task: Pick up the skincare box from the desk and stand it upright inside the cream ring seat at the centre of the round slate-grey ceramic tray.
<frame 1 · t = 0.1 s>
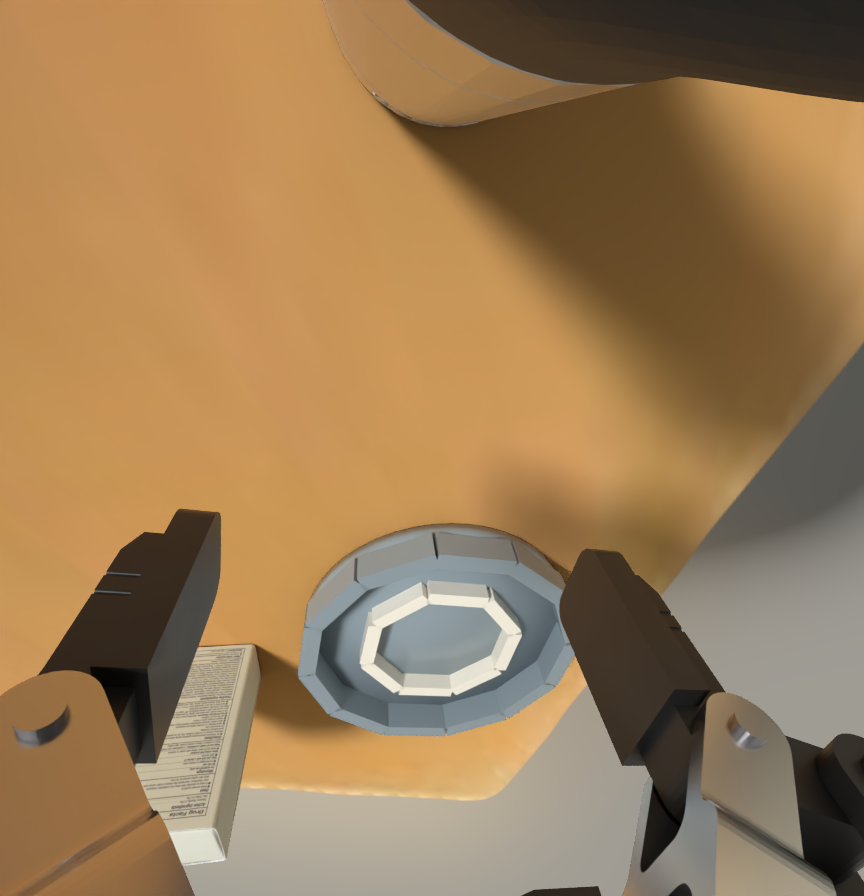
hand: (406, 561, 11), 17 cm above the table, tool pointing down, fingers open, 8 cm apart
ring tray: (437, 622, 38), on the table
skincare box: (220, 659, 38), on the table
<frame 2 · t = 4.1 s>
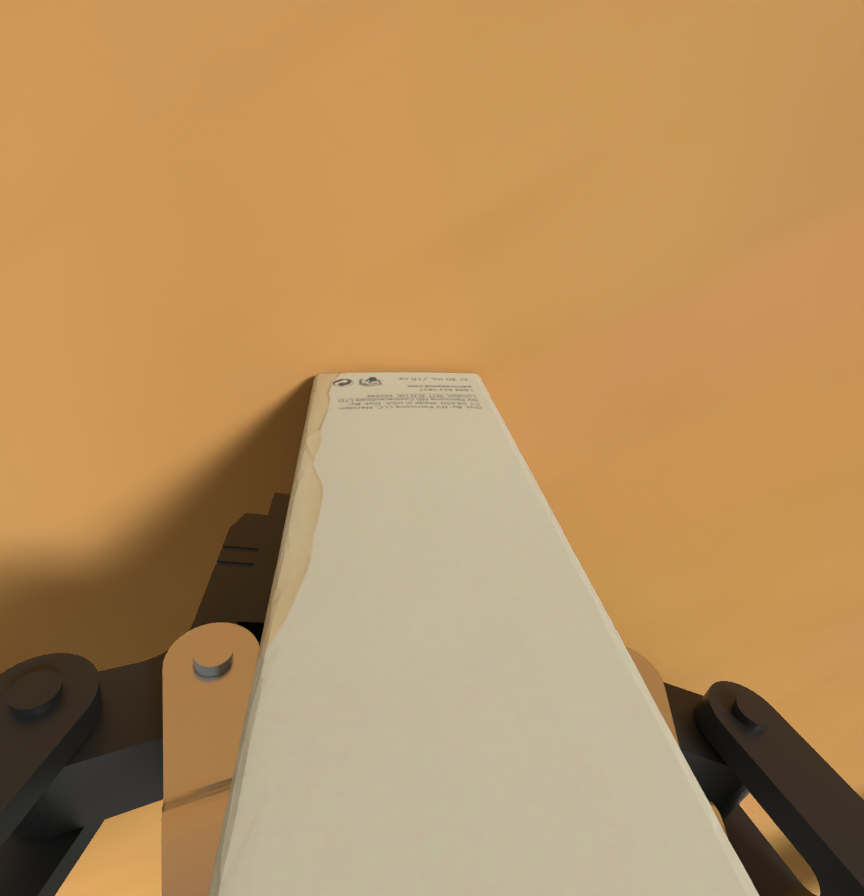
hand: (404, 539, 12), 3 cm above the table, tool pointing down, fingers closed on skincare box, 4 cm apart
skincare box: (399, 469, 14), on the table, touching gripper
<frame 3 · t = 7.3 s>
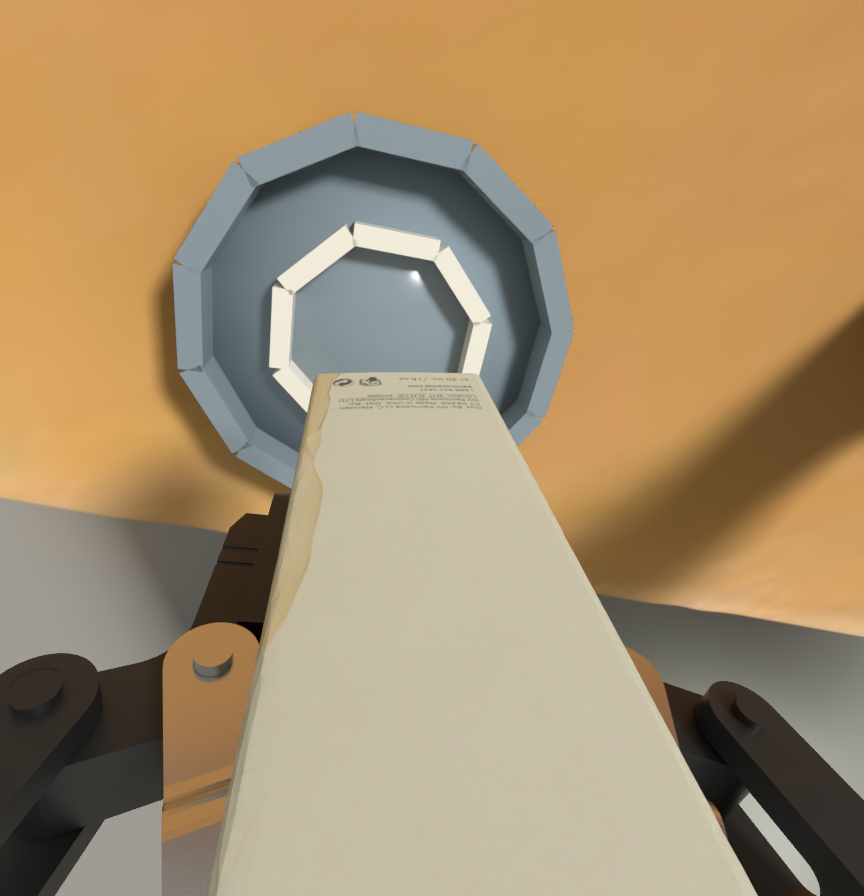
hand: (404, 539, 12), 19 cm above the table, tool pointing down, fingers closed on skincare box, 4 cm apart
ring tray: (380, 332, 28), on the table
skincare box: (399, 469, 14), point 16 cm above the table, touching gripper
when the fingers open (5 cm above the table, at t = 10.8 s): skincare box drops 1 cm, resting on ring tray.
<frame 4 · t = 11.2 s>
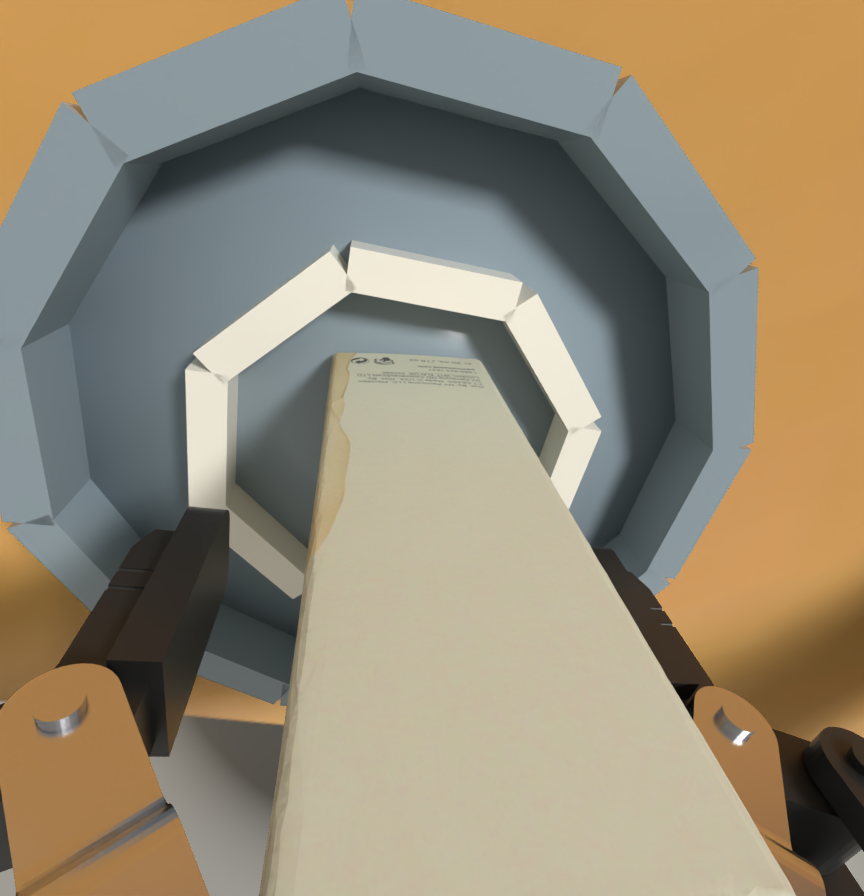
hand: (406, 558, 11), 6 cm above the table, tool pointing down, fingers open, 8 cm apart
ring tray: (393, 430, 16), on the table
skincare box: (403, 445, 15), point 1 cm above the table, touching ring tray
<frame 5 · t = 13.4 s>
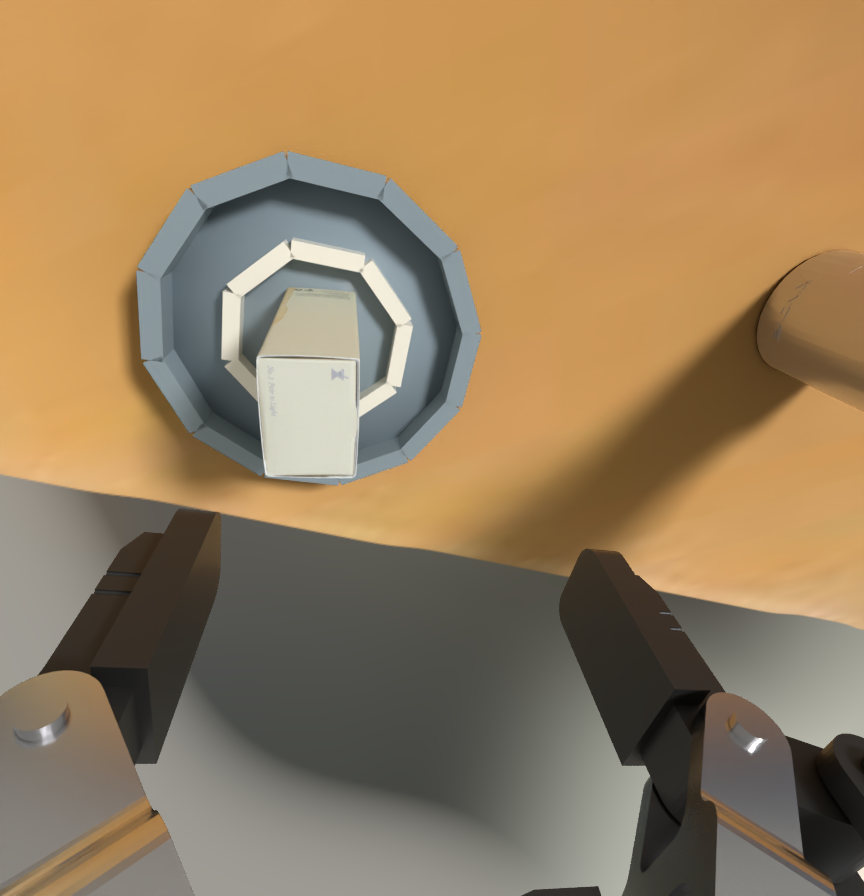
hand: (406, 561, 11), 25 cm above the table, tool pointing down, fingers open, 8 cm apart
ring tray: (320, 331, 33), on the table
skincare box: (323, 336, 32), point 1 cm above the table, touching ring tray
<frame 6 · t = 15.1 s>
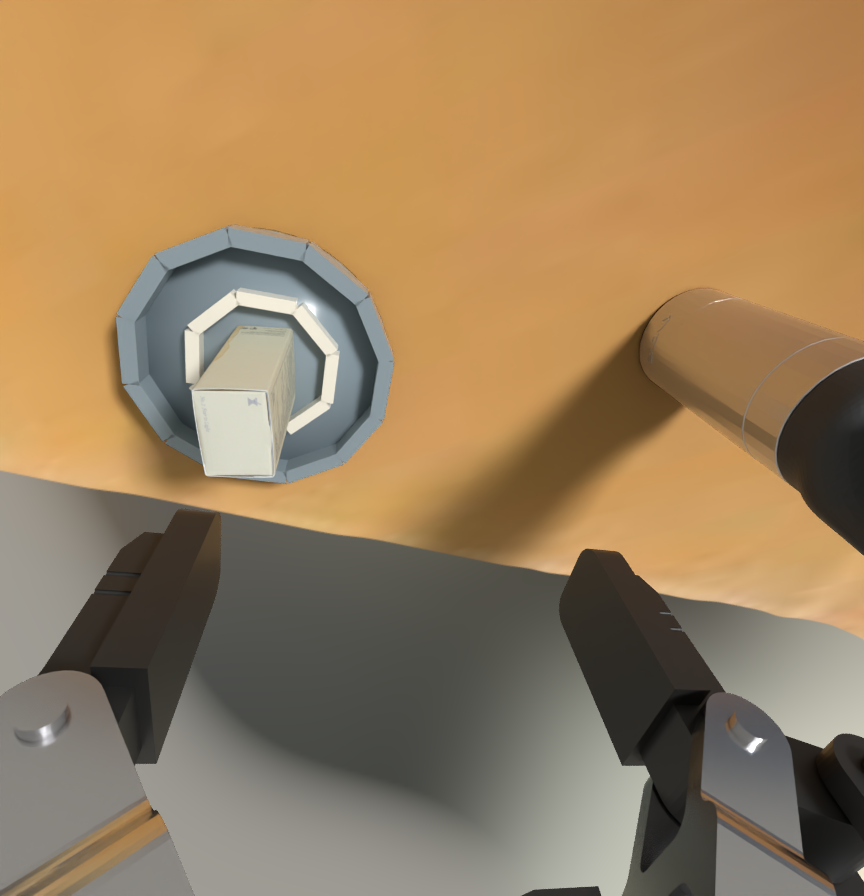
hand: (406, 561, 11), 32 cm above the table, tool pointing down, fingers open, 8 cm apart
ring tray: (268, 358, 41), on the table
skincare box: (269, 363, 40), point 1 cm above the table, touching ring tray
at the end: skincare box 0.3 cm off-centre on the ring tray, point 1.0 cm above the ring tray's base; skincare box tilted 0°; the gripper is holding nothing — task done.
